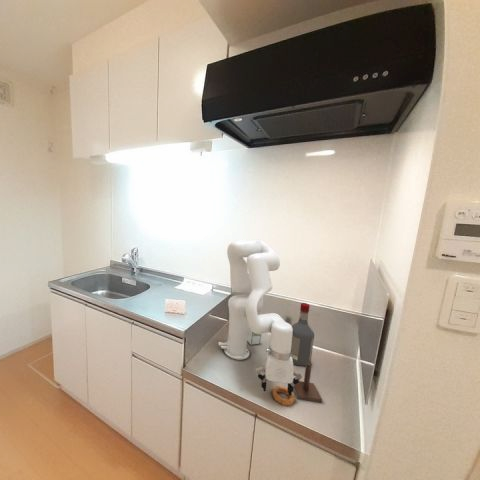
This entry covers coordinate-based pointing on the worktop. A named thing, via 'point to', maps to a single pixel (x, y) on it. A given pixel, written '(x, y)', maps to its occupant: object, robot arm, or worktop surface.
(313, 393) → the stand
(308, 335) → the liquor
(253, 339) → the syrup box
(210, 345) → the worktop surface
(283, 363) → the robot arm
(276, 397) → the ring
